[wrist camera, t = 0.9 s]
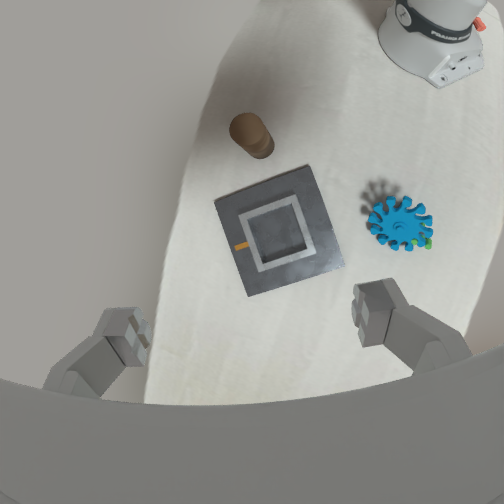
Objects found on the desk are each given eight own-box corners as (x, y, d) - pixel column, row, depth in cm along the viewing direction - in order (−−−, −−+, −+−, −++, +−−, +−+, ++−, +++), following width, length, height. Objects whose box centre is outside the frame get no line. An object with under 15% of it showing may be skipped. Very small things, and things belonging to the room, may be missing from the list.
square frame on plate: (309, 166, 43) (309, 163, 41) (344, 264, 44) (346, 268, 41) (216, 202, 47) (209, 201, 44) (249, 295, 48) (245, 300, 45)
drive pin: (268, 128, 44) (256, 107, 34) (278, 152, 44) (268, 137, 34) (243, 138, 45) (224, 120, 35) (252, 162, 45) (235, 150, 36)
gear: (354, 227, 42) (396, 188, 33) (361, 202, 45) (400, 165, 36) (405, 267, 42) (451, 237, 34) (409, 240, 45) (450, 211, 37)
